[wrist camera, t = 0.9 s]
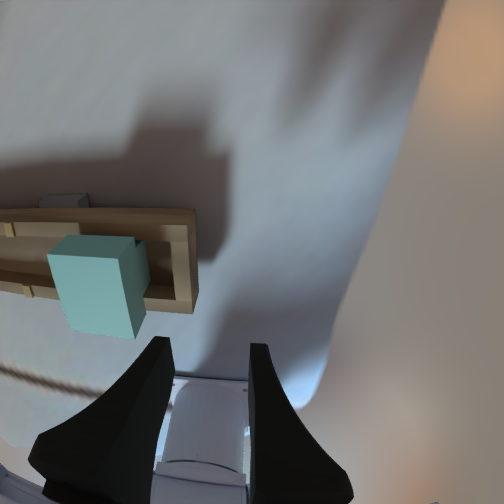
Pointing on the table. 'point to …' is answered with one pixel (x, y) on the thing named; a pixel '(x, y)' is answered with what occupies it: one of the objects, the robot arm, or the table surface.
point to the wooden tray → (101, 224)
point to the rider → (101, 283)
